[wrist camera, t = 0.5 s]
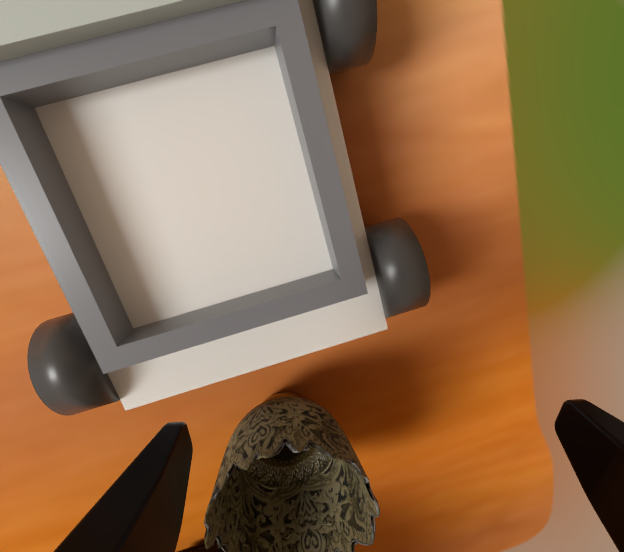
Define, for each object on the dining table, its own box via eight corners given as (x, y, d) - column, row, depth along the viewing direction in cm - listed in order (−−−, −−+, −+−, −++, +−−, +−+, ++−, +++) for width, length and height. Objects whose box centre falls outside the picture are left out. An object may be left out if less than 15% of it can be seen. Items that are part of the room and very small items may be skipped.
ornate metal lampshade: (204, 385, 22) (172, 497, 14) (318, 341, 22) (348, 427, 14) (250, 478, 24) (245, 619, 16) (355, 437, 24) (398, 556, 16)
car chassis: (402, 300, 22) (451, 341, 16) (110, 389, 21) (52, 468, 15) (329, -46, 17) (363, -163, 11) (-57, 49, 16) (-236, -25, 10)
